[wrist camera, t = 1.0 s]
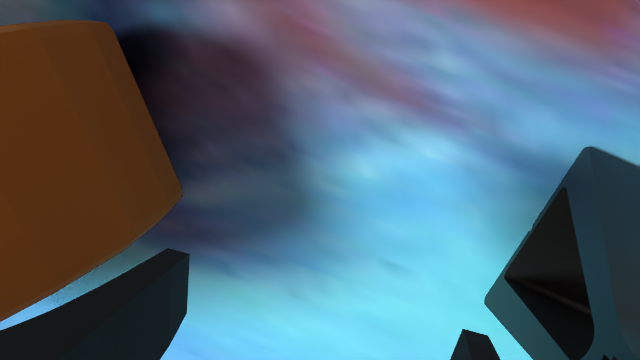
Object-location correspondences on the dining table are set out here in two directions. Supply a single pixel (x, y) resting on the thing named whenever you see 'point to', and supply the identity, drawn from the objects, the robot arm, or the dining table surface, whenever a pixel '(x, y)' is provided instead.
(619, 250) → the phone stand
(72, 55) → the orange tape measure
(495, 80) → the dining table surface
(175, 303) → the robot arm
